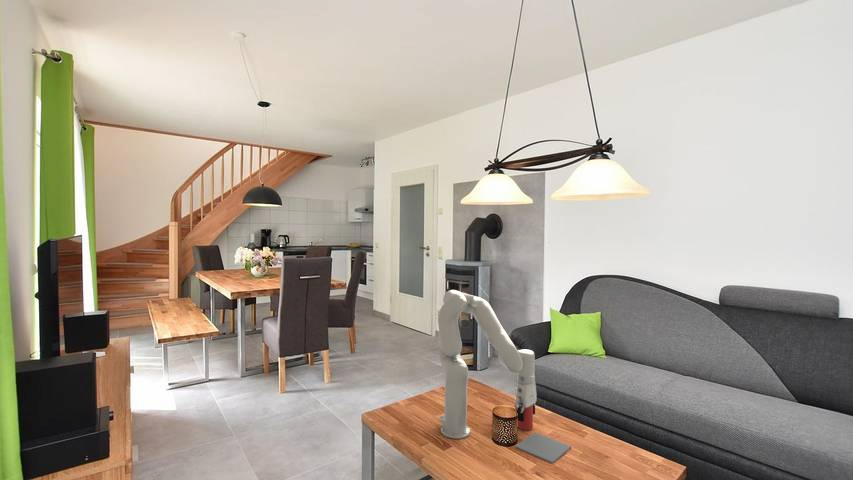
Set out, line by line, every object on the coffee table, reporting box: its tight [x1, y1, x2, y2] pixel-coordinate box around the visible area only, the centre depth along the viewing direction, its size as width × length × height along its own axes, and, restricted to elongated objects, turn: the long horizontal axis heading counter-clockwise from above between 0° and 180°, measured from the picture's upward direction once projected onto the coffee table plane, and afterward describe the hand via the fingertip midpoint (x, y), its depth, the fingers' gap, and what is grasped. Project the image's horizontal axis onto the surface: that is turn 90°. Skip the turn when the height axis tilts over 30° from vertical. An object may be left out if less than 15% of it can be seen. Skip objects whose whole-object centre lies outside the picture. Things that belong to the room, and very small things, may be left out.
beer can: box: [517, 403, 534, 431], centre depth 177 cm, size 7×7×12 cm
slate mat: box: [514, 432, 572, 464], centre depth 160 cm, size 16×16×1 cm
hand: (526, 417), depth 177 cm, fingers open, 9 cm apart
